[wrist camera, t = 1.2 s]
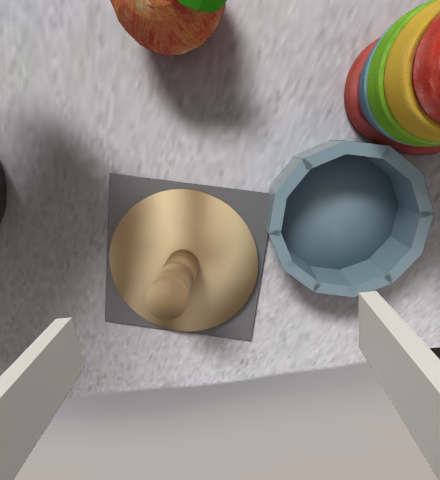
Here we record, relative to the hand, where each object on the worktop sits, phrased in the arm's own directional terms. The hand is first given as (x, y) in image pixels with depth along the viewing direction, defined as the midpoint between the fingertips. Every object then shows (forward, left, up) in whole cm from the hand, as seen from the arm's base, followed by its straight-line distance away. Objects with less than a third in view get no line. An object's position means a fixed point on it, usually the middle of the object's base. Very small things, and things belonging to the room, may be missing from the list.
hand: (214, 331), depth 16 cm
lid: (-4, -4, -19) cm, 20 cm away
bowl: (+10, +3, -20) cm, 22 cm away
